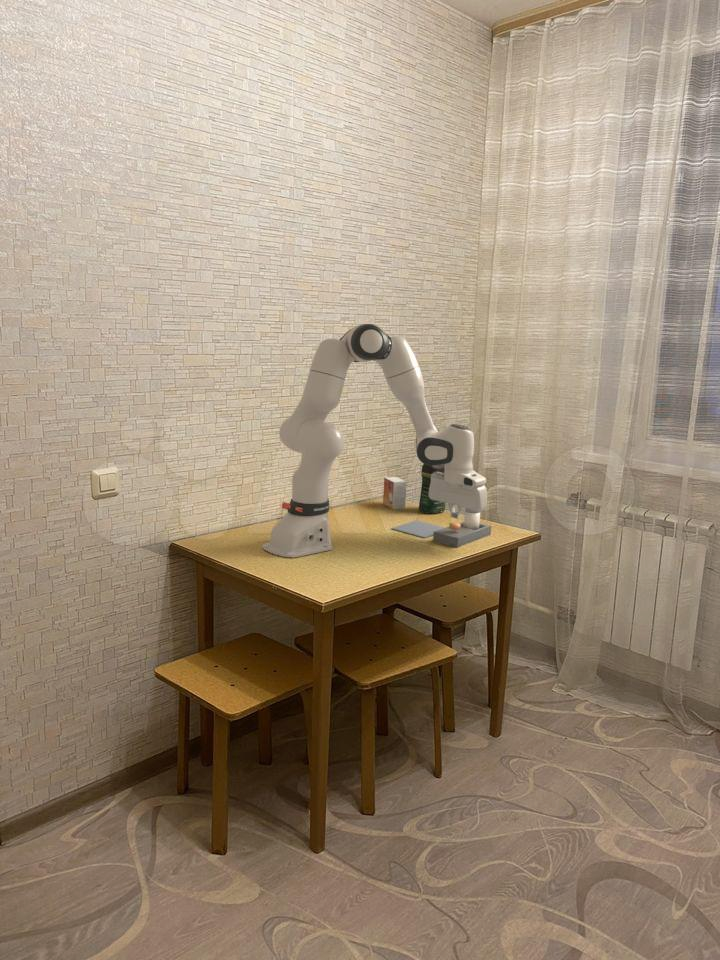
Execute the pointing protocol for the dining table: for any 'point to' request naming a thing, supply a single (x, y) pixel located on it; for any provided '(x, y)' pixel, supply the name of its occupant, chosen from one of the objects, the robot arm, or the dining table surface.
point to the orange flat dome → (455, 526)
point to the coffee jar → (425, 502)
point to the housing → (461, 535)
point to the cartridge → (472, 518)
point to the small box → (394, 492)
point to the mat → (418, 528)
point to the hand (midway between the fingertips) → (455, 517)
